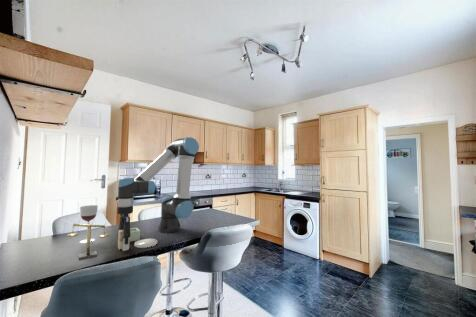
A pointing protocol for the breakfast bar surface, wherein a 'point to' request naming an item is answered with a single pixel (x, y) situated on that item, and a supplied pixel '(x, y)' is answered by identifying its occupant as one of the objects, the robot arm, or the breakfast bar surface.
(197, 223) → the breakfast bar surface
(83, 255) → the balance
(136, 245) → the dish
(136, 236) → the pale green open box
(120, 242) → the block
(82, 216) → the wineglass
